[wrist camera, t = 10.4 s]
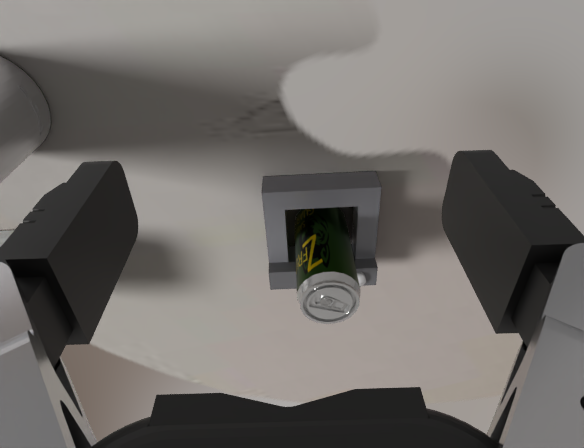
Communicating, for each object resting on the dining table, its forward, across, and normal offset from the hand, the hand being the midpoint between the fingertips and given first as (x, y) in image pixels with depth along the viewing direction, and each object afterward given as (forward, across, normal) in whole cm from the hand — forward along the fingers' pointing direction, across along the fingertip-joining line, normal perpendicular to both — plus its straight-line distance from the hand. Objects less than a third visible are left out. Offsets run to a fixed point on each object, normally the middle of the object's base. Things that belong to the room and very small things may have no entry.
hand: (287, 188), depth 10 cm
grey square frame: (+27, -3, +21) cm, 34 cm away
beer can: (+27, -3, +21) cm, 34 cm away
